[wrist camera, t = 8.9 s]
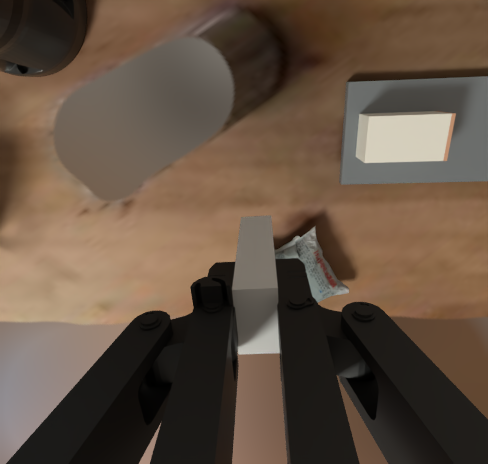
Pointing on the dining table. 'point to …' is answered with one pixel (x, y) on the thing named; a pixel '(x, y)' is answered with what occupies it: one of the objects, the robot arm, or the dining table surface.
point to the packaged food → (313, 265)
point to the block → (404, 136)
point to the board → (420, 100)
